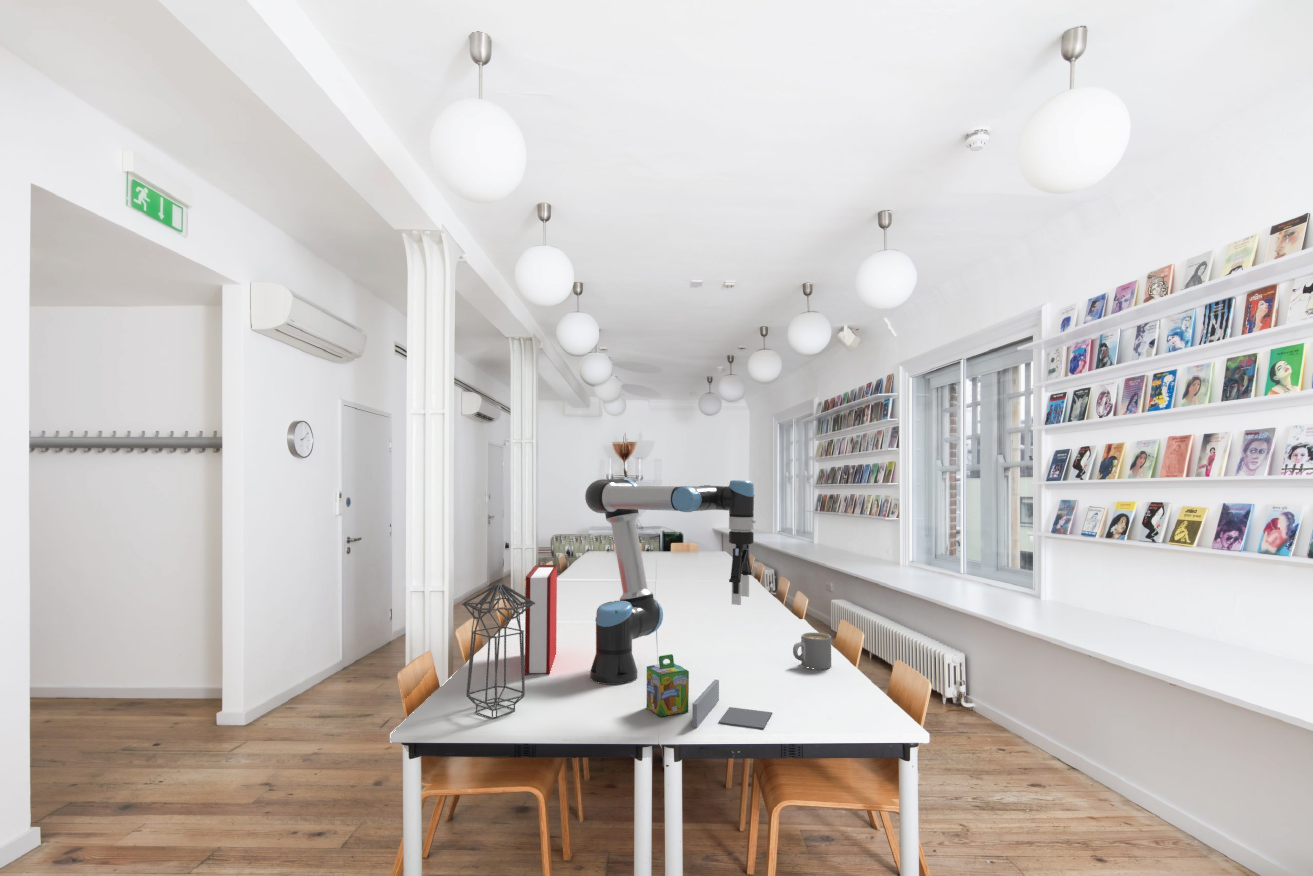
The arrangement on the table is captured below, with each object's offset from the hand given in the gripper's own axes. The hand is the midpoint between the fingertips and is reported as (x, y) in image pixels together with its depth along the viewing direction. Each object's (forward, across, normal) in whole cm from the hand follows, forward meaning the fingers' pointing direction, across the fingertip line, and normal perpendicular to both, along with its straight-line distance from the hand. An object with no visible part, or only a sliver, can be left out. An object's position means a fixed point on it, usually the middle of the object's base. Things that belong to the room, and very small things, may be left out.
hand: (740, 600), depth 206 cm
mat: (+27, -24, -6) cm, 36 cm away
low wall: (+27, -23, +5) cm, 36 cm away
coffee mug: (+27, +33, -19) cm, 47 cm away
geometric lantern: (+28, -39, +61) cm, 77 cm away
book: (+28, +7, +71) cm, 76 cm away
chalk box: (+27, -24, +16) cm, 39 cm away
